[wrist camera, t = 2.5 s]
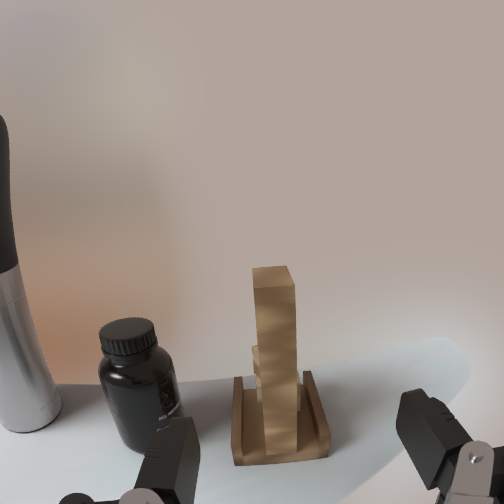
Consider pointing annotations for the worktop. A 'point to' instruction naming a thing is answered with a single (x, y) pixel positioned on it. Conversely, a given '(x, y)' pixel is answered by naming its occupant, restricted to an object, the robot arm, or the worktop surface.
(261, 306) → the oak board
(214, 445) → the worktop surface
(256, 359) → the small pine offcut
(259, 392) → the pine offcut
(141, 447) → the supplement bottle
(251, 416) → the walnut rack
